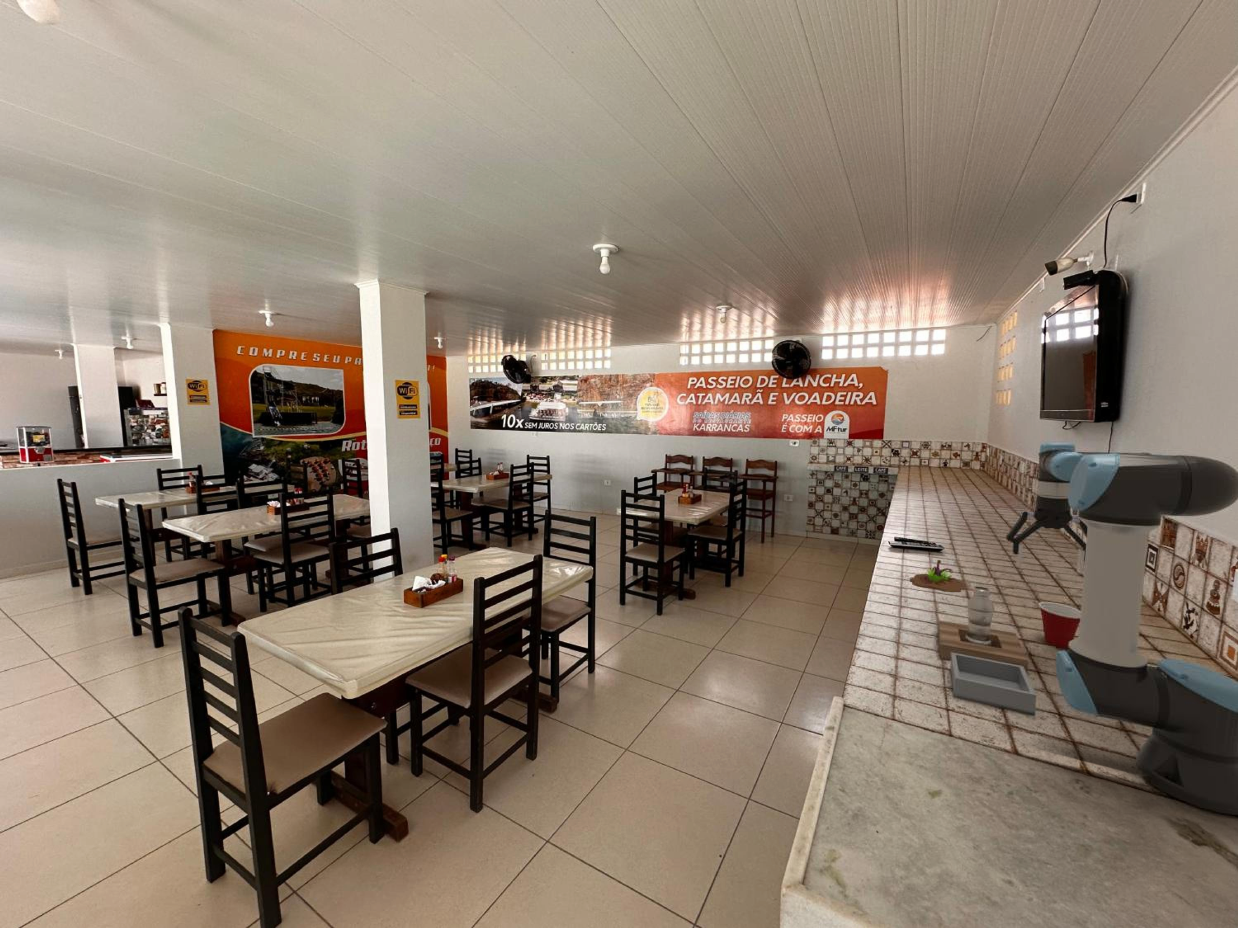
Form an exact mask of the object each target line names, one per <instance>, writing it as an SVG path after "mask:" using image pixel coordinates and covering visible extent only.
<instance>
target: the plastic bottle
mask: <svg viewBox="0 0 1238 928" xmlns="http://www.w3.org/2000/svg"><path fill="white" fill-rule="evenodd" d="M972 593H973V596H971V597H970V598H969V599H968V601H967V605H966V606H967V613H968V618H967V619H968V622H967V623H968V624H967V625H968V629H967V635H966V637H965V641H964V642H968V643H973V644H979V645H984V646H990V647H992V645H991V640H990V639H991V637H990V629H992V628H991V626H992V619H993V616H994V612H995V605H994V603H993V601H992V600H991V599H990V598H989V597H990V594H991V593H990V589H989V588H987V587H985V586H978V585H977V586H973V591H972Z"/></svg>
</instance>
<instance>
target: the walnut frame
mask: <svg viewBox="0 0 1238 928" xmlns="http://www.w3.org/2000/svg"><path fill="white" fill-rule="evenodd" d="M937 624H938V625H937V637H938V646H939V647H938V648H939V654H940V655H939V656H940V660H947V661H950V662H951V652H952V653H957V654H962V655H967V656H973V657H978V658H983V659H988V660H993V661H999V662H1004V663H1009V664H1014V665H1019V666H1023V667H1024V669H1025V671H1026V673H1027V674H1028V669H1029V659H1028V657H1027V655H1026V652H1025V650H1024V648H1023V646H1022V644H1021V642H1020V640H1019V638H1018V636H1017V634H1016V632H1011V631H1005V630H999V629H994V628H993V629H992V628H990V637H991V639H990V640H991V645H992V647H990V646H984V645H979V644H973V643H968V642H964V641H965V637H966V635H967V629H968V624H963V623H958V622H952V621H945V620H941V619H938V623H937Z"/></svg>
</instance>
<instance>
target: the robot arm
mask: <svg viewBox="0 0 1238 928" xmlns="http://www.w3.org/2000/svg"><path fill="white" fill-rule="evenodd" d="M1038 456H1039V457H1038V471H1037V472H1038V473H1037V486H1036V494H1037V496H1036V499H1035V500H1036V502H1035V510H1034V512H1031V511H1026V510H1021V513H1020V517H1019V518H1018V520H1017V521H1016V522H1015V524H1014V525H1013V526H1012V527H1011V529H1010V530H1009V532H1008V533H1007V534H1006V536H1005V539H1006V541H1007V542H1011V543H1012V553H1013V555H1016V563H1015V564H1016V566H1017V567H1021V568H1022V559H1023V557H1022V556H1023V544H1022V542H1023V541H1024V540H1025V539H1027V538H1028V537H1030V536H1031V535H1032V534H1033V533H1034V532H1036V531H1037V530H1040V529H1041V528H1044V529H1048V530H1049V529H1054V530H1060V529H1061V530H1062V529H1063V530H1064V531H1065V532H1066V533H1067V534H1069V535H1070V537H1071V538H1072V539H1073V540H1074V541H1075V542H1076V543H1077V544H1078V545H1079V546H1080V547H1081V548H1078V549H1077V550H1078V551H1077V561H1076V562H1077V564H1076V572H1077V573H1078V574H1080V575H1081V574H1082V575H1083V581H1082V592H1081V603H1080V604H1081V607H1080V611H1081V616H1080V623H1079V628H1078V629H1079V630H1078V637H1076V638H1074V639H1073V640H1071V641H1070V642H1069V644H1068V648H1067V651H1066V650H1059V651H1057V652H1056V656H1055V669H1056V676H1057V680H1058V681H1057V682H1058V685H1059V686H1058V687H1059V689H1060V692H1061V695H1062V697H1063V699H1064V702H1065V703H1066V704H1067V706H1068V707H1070V709H1073V710H1074V711H1076V712H1080V713H1084V714H1088V715H1092V716H1094V717H1096V718H1099V717H1100V718H1104V719H1110V720H1114V721H1119V722H1125V723H1128V724H1129V723H1130V724H1134V725H1138V726H1143V727H1149V728H1152V729H1151V733H1150V736H1149V737H1148V738H1147V740H1145V742H1144V744H1143V745H1142V747H1141V748H1140V749H1139V750H1138V752H1137V754H1136V765H1137V767H1138V769H1139V770H1140V771H1141V773H1143V774H1144V775H1142V777H1143V778H1144V779H1145V780H1146V781H1148V782H1149V783H1150V784H1152V785H1153V786H1155V787H1156V788H1158V789H1160V790H1161V791H1162V792H1164V793H1167V794H1168V795H1170V796H1172V797H1174V798H1176V799H1179V800H1181V801H1183V802H1185V803H1188V804H1191V805H1194V806H1196V807H1198V808H1202V809H1206V810H1209V811H1211V812H1215V813H1220V814H1226V815H1233V816H1238V681H1236V680H1234V679H1232V678H1230V677H1229V676H1226V675H1225V674H1223V673H1220V672H1218V671H1216V670H1213V669H1210V668H1207V667H1204V666H1202V665H1199V664H1196V663H1192V662H1188V661H1185V660H1180V659H1176V658H1175V659H1174V658H1161V659H1160V660H1158V662H1157V663H1156V666H1152V665H1148V660H1147V658H1146V657H1145V655H1143V654H1142V653H1141V652H1140V651H1139V650H1138V645H1139V636H1140V625H1141V624H1140V622H1141V613H1142V612H1141V611H1142V604H1143V603H1142V601H1143V591H1144V581H1145V569H1146V560H1147V559H1146V557H1147V549H1148V547H1147V546H1148V537H1149V536H1148V534H1149V533H1151V532H1153V531H1154V530H1156V529H1158V528H1159V527H1161V523H1162V516H1170V517H1172V516H1173V517H1198V516H1206V515H1210V514H1213V513H1217V512H1218V513H1219V512H1220V511H1223V510H1224V509H1226V508H1228V507H1231V505H1233V504H1235V502H1237V501H1238V471H1237V470H1236V469H1235V468H1234V467H1232V466H1231V465H1230V464H1228V463H1225V462H1224V461H1221V460H1217V459H1214V458H1209V457H1206V456H1205V457H1204V456H1198V455H1197V456H1196V455H1187V454H1186V455H1181V454H1179V455H1178V454H1177V455H1171V454H1167V455H1166V454H1161V453H1152V452H1107V451H1105V452H1100V451H1099V452H1097V451H1076V446H1075V444H1074V443H1072V442H1059V441H1058V442H1056V441H1054V442H1049V441H1048V442H1043V443H1041V444H1040V447H1039V452H1038ZM1071 509H1072V510H1074V511H1076V512H1078V514H1073V515H1072V514H1071ZM1032 517H1033V518H1034V519H1035V521H1034V522H1033V523H1032V524H1031V525H1030V526H1028V527H1027V528H1026V529H1024V530H1023V531H1022V532H1021V533H1019V532H1020V530H1021V528H1022V527H1023V526H1025V523H1026V521H1027V520H1030V519H1031V518H1032ZM1072 520H1074V522H1075V523H1077V524H1078V526H1079V527H1080V529H1081V531H1082V533H1083V535H1084V536H1085V538H1086V542H1085V541H1084V540H1083V539H1082V538H1081V537H1080V536H1079V535H1078V533H1076V532H1075V531H1074V529H1073V528H1072V527H1070V526H1069V524H1070V522H1071V521H1072ZM1018 533H1019V534H1018ZM1017 534H1018V535H1017ZM1015 536H1016V537H1015Z"/></svg>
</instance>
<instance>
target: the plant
mask: <svg viewBox="0 0 1238 928" xmlns="http://www.w3.org/2000/svg"><path fill="white" fill-rule="evenodd" d="M940 564H942V561H941V559H937V561H936V566H933V568H931V569H927V570H926V572H924V573H918V574H915V575H914V576H913V577H910V578H909V582H910V583H911V584H912V585H913V586H915V587H918V588H922V589H930V590H935V591H941V592H944V593H945V592H947V593H961V591H964V590H966V589H967V587H966V583H965V582H964V581H962V580H959V579H957V578H955V577H953V575H952V574H954V570H953V569H952V568H948V567H947V568H946V567H945V568H943V569H941V568H940ZM946 571H948V572H949V573H950V575H947V574H948V572H946Z"/></svg>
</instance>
